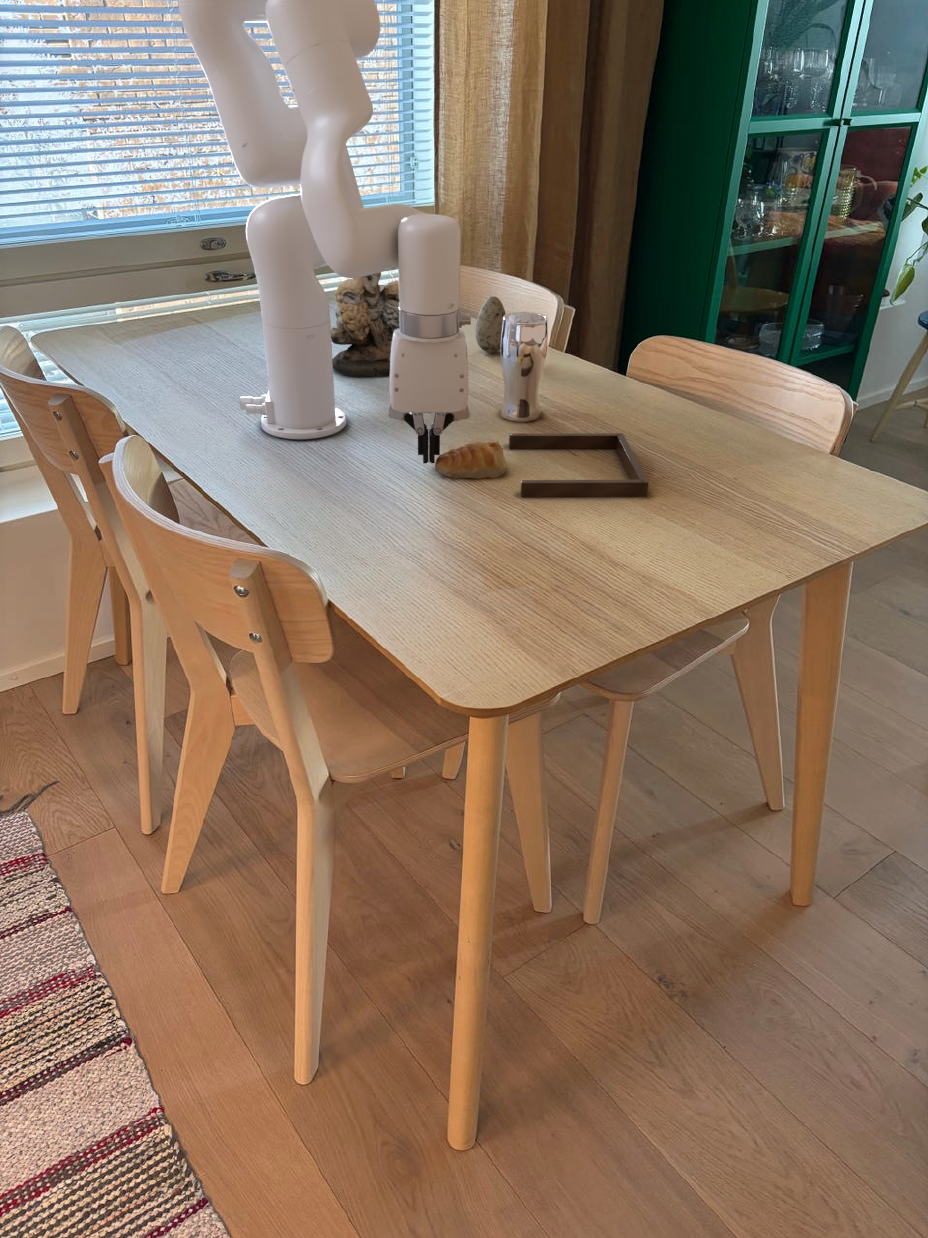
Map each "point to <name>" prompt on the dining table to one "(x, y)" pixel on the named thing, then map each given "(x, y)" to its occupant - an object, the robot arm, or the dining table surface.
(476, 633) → the dining table surface
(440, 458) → the pastry
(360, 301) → the owl figurine
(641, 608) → the dining table surface
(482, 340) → the decorative egg
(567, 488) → the corral
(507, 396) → the beer glass
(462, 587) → the dining table surface
